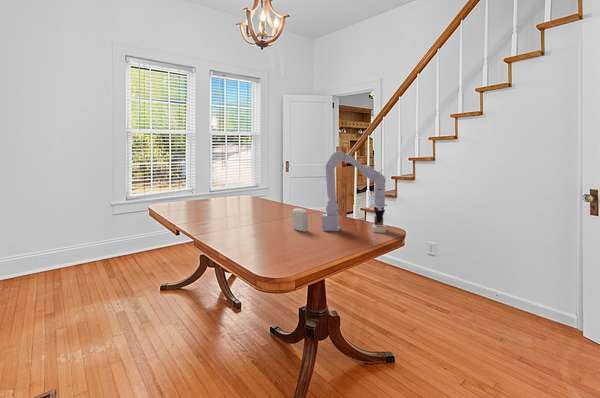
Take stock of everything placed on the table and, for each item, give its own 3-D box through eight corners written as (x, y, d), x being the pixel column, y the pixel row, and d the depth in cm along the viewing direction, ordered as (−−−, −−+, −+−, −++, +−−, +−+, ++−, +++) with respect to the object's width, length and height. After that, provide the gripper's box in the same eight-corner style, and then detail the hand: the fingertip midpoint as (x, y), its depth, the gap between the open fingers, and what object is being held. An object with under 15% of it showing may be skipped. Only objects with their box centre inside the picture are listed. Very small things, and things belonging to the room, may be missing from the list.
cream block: (372, 232, 177) (372, 227, 176) (372, 229, 183) (372, 224, 183) (385, 233, 175) (385, 227, 175) (385, 230, 182) (385, 224, 181)
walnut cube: (374, 224, 177) (374, 217, 176) (374, 223, 181) (374, 216, 181) (383, 225, 176) (383, 217, 175) (382, 223, 180) (382, 216, 180)
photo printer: (291, 229, 187) (291, 207, 185) (297, 227, 189) (297, 206, 187) (303, 232, 179) (302, 210, 177) (309, 231, 182) (308, 209, 180)
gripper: (388, 198, 168) (387, 224, 170) (386, 194, 182) (385, 218, 185) (374, 198, 170) (373, 224, 172) (373, 194, 184) (372, 218, 186)
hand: (378, 221), depth 178 cm, fingers closed on walnut cube, 4 cm apart
